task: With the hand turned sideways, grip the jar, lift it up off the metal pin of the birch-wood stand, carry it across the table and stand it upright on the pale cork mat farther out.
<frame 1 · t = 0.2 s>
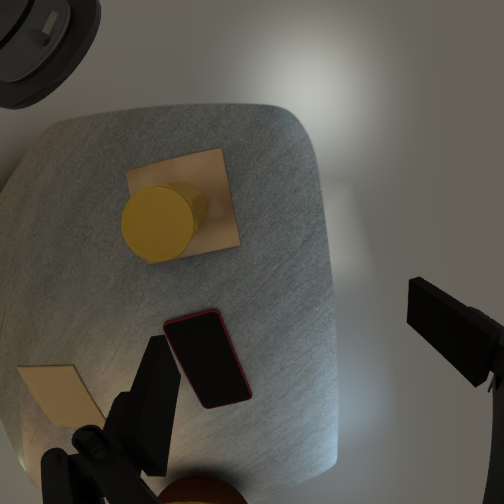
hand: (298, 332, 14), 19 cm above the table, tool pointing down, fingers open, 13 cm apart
smartphone: (210, 361, 36), on the table
mat: (62, 398, 36), on the table
jar: (181, 207, 28), point 3 cm above the table, touching stand
bowl: (202, 479, 44), on the table
stand: (185, 204, 31), on the table
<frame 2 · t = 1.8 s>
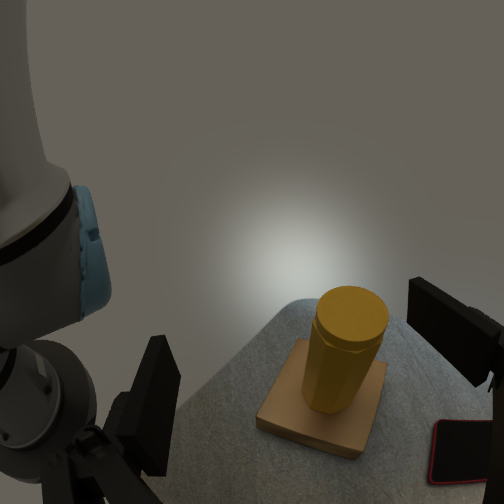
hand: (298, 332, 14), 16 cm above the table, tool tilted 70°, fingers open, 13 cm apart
smartphone: (484, 452, 16), on the table
jar: (328, 390, 24), point 3 cm above the table, touching stand
stand: (323, 403, 26), on the table
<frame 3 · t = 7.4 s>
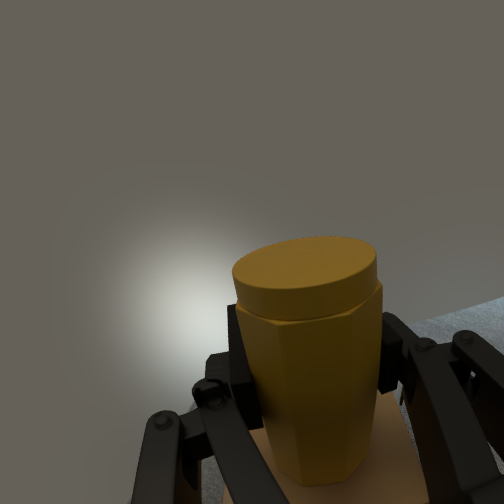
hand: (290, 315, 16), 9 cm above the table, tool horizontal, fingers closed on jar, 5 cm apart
jar: (320, 449, 13), point 3 cm above the table, touching gripper, stand
stand: (321, 473, 13), on the table
when the fingers open (6 cm above the table, at t = 17.9 s): jar stays where it is, resting on mat.
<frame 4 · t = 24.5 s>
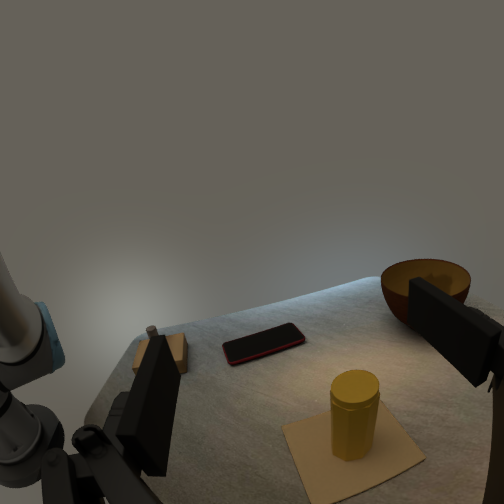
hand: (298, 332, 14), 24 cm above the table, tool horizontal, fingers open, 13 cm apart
smartphone: (263, 345, 54), on the table
mat: (350, 446, 28), on the table
jar: (351, 445, 28), resting on mat
bowl: (422, 323, 48), on the table
stand: (163, 361, 53), on the table
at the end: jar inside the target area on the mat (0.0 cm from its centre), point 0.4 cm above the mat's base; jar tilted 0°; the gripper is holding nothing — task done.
